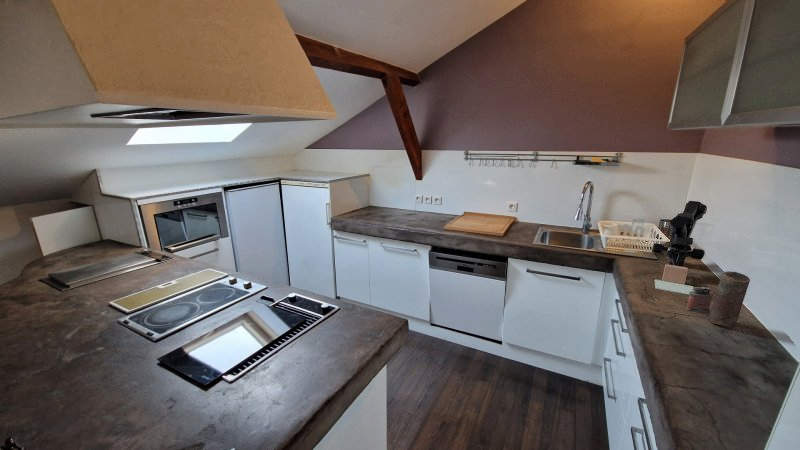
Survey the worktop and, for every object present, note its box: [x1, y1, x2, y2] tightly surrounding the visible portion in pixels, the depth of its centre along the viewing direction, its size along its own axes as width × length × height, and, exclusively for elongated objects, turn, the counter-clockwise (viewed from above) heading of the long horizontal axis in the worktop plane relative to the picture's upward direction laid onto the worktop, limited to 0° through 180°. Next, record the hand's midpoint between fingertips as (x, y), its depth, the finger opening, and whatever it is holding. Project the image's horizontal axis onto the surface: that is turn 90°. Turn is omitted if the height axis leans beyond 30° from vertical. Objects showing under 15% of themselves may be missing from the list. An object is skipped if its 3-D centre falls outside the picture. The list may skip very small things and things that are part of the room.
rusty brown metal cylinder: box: [707, 270, 751, 328], centre depth 119 cm, size 8×7×20 cm
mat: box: [654, 279, 694, 296], centre depth 149 cm, size 10×14×1 cm
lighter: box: [685, 286, 714, 313], centre depth 130 cm, size 8×3×10 cm, turn 84°
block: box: [661, 263, 689, 285], centre depth 153 cm, size 2×8×8 cm, turn 55°
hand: (675, 267), depth 153 cm, fingers closed
